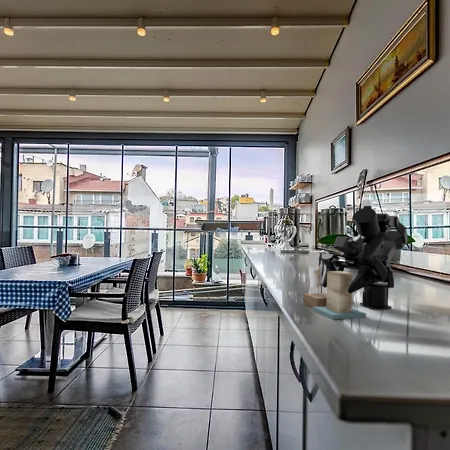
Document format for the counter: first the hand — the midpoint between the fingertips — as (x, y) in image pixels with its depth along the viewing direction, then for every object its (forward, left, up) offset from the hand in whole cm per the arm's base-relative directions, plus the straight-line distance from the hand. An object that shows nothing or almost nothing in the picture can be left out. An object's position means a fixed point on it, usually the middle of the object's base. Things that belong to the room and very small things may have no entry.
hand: (335, 289), depth 91 cm
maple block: (-1, 0, -6) cm, 6 cm away
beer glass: (-11, -26, -7) cm, 29 cm away
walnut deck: (-2, -10, -7) cm, 12 cm away
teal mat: (-1, 0, -7) cm, 7 cm away
